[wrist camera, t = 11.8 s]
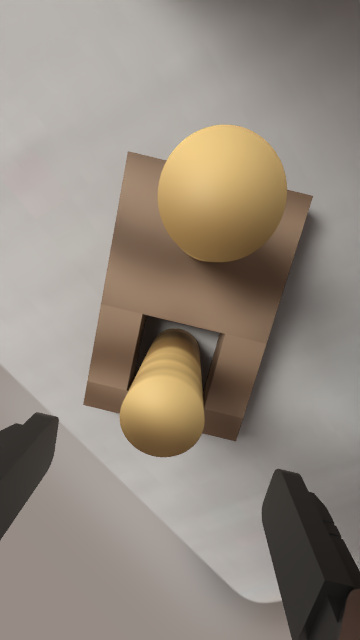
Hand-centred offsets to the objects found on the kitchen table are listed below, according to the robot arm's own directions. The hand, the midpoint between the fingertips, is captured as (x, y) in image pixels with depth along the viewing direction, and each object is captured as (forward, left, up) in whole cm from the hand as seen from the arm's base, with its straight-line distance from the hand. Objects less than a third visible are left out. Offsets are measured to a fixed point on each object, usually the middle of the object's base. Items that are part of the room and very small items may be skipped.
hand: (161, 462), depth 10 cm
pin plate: (-4, 0, -13) cm, 14 cm away
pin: (0, 0, -13) cm, 13 cm away
